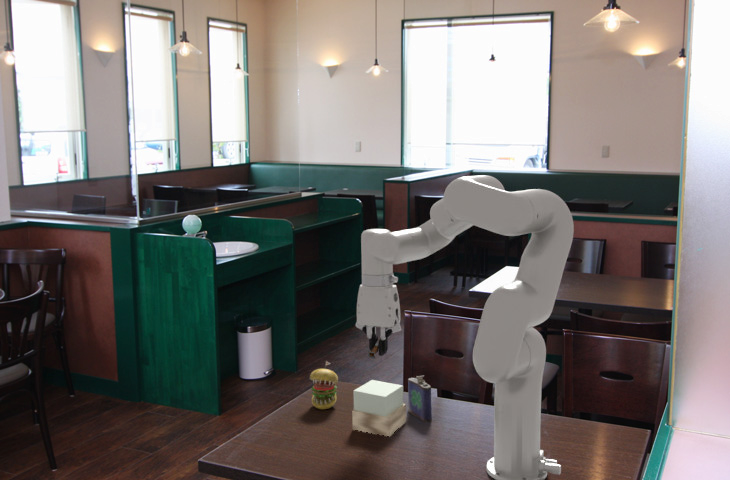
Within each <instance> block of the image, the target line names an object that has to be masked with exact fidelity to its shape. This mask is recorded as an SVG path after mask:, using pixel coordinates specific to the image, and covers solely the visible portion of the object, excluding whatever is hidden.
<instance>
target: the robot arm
mask: <svg viewBox="0 0 730 480" xmlns="http://www.w3.org/2000/svg"><path fill="white" fill-rule="evenodd" d="M429 215H430V219H429V220H427V221H425V222H424V223H422V224H421V225H419V226H416V227H413V228H408V229H401V230H397V231H390V230H389V229H386V228H370V229H369V228H368V229H366V230H365V229H364V230H363V231H362V233H361V234H360V235H361V236H360V238H361V239H360V243H361V245H360V246H361V284H360V285H359V288H358V293H357V299H356V300H357V302H356V322H355V326H354V327H356V328H357V329H359V330H360V331H363V332H364V333H365V335H366V337H367V339H368V347H369V348H368V349H369V352H370V351H371V350H372V349H373V348H374V347H375V344H376V342H377V341H379V349H378V350H377V352H376V354H377V353H378V356H380V357H382V356H384V355H385V354H387V352H388V349H389V346H388V345H389V343H388V338H390V336H391V335H392V334H395V333H398V332H400V331H402V326H401V324H400V323H401V306H400V297H399V293H398V287H397V285H396V284H395V283H398V281H399V277H398V276H395V275H394V272H393V271H394V269H393V268H394V267H393V266H394V265H400V264H405V263H407V262H408V263H409V262H412V261H417V260H422V259H424V258H427V257H429V256H430V255H433V254H435V253H436V252H437V251H440V250H441V249H444V248H445V247H446V246H448V245H449V244H450V243H452V242H453V240H454V239H455V238H456V236H458V235H460V234H461V233H463V232H464V231H467V230H468V229H470V228H471V227H473V226H475V227H478V228H481V229H484V230H487V231H489V232H492V233H495V234H499V235H501V236H508V237H515V236H516V237H517V236H521V235H527V234H531V236H530V239H529V241H528V243H527V245H526V246H525V248H524V250H523V253H522V255H521V257H520V262H519V266H518V270H517V272H516V274H515V275H516V276H515V278H514V280H513V281H512V282H510V283H507V284H504V285H502V286H501V285H500V286H498V288H496V289H495V290H493V291H492V292H491V293H490V295H489V296H488V298H487V300H486V301H485V304H484V307H483V310H482V312H481V313H482V314H481V317H480V320H479V321H480V322H479V325H478V329H477V333H476V338H475V340H474V346H473V348H472V363H473V366H474V369H475V371H476V373H477V374H478V376H479V377H480V378H481V379H483V381H485V382H487V383H491V384H495V385H494V398H493V400H494V401H493V402H494V403H493V404H494V405H493V408H494V409H493V410H494V411H493V425H494V426H493V457H491V458H490V459H489V460H487V462H486V467H485V468H486V472H487V474H488V475H489V477H491V478H492V479H494V480H546V478H547V476H548V473H550V474H554V475H561V473H562V465H561V464H558V460H557V459H553V458H550V459H549V458H547V457H546V456H544V452H545V451H544V450H543V449H541V423H542V422H541V420H542V417H541V415H542V413H541V412H542V408H541V407H542V383H543V376H544V370H545V365H546V358H547V346H546V342H545V339H544V338H543V335H542V334H541V333H540V332H539V331H538V330H537V329H536V328H534V327H536V326H539V325H541V324H542V323H544V322H545V321H547V320H548V319H549V318H550V316H551V314H552V312H553V309H554V306H555V302H556V299H557V295H558V292H559V288H560V285H561V282H562V281H561V280H562V277H563V273H564V269H565V268H566V267H565V266H566V262H567V259H568V257H569V254H570V251H571V246H572V243H573V241H574V240H573V239H574V233H575V232H574V230H575V229H574V227H575V225H574V219H573V215H572V213H571V211H570V208H569V207H568V205H567V203H566V202H565V201H564V199H562V198H561V197H560V196H559V195H558V194H556V193H554V192H552V191H550V190H548V189H541V188H537V189H536V188H533V189H532V188H531V189H530V188H529V189H525V190H516V191H507V190H505V187H504V185H503V184H502V182H500V180H499V179H497V178H496V177H494V176H492V175H484V174H482V175H481V174H480V175H467V176H461V177H457V178H455V179H454V180H452V181H451V182H450V183H449V184H448V185H447V186H446V187H445V191H444V193H443V197H442V198H441V199H439V200H437V201H436V202H435V203H433V204H432V206H431V208H430V211H429ZM377 328H380V336H381V337H380V336H378V335H377ZM379 339H380V340H379Z"/></svg>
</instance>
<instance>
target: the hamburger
mask: <svg viewBox="0 0 730 480" xmlns="http://www.w3.org/2000/svg"><path fill="white" fill-rule="evenodd" d="M329 365H331V362H329V361H327V360H325V367H324V368H317V369H314V370H313V371H312V372H311V373H310V375H309V380H310V381H312V383H313V385H312V387H311V391H312V392H311V394H312V397H311V404H312V405H313V407H315V408H316V409H318V410H327V409H328V410H329V409H330V408H332V407H333V406H334V405H335V404H336V402H337V400H338V399H337V393H338V392H337V390H336V389H338V387H337V385H336V383H337V384H338V381H339V376H338V374H336V372H335V371H333V370H331V369H328V368H326V367H327V366H329Z"/></svg>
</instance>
